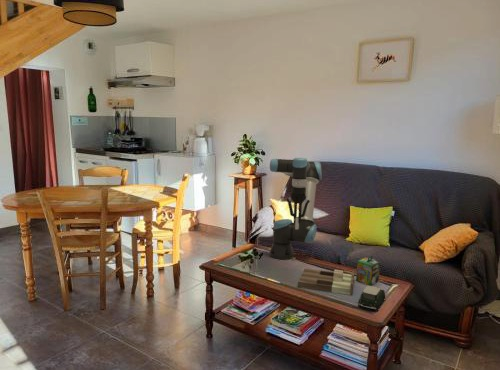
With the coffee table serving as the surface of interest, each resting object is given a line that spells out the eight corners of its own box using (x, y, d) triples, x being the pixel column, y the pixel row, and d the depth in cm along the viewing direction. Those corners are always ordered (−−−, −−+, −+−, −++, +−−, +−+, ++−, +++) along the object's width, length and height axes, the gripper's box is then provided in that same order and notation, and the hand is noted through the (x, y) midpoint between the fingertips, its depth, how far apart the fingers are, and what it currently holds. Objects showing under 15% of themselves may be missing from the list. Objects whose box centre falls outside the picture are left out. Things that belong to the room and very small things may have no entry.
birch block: (334, 277, 203) (334, 269, 203) (342, 278, 202) (343, 270, 201) (333, 280, 199) (333, 272, 198) (342, 282, 198) (342, 273, 197)
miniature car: (385, 298, 187) (387, 283, 186) (376, 313, 172) (377, 296, 171) (367, 294, 192) (368, 279, 190) (356, 308, 176) (357, 291, 175)
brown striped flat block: (304, 273, 216) (305, 263, 215) (353, 280, 208) (354, 269, 207) (298, 287, 197) (298, 276, 196) (352, 295, 189) (352, 283, 188)
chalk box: (363, 276, 214) (365, 251, 212) (379, 281, 208) (381, 255, 205) (355, 280, 208) (357, 254, 205) (370, 286, 201) (373, 259, 199)
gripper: (285, 186, 205) (283, 229, 209) (309, 188, 201) (307, 231, 205) (288, 184, 212) (286, 225, 216) (311, 186, 208) (309, 228, 212)
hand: (296, 228), depth 210 cm, fingers closed
